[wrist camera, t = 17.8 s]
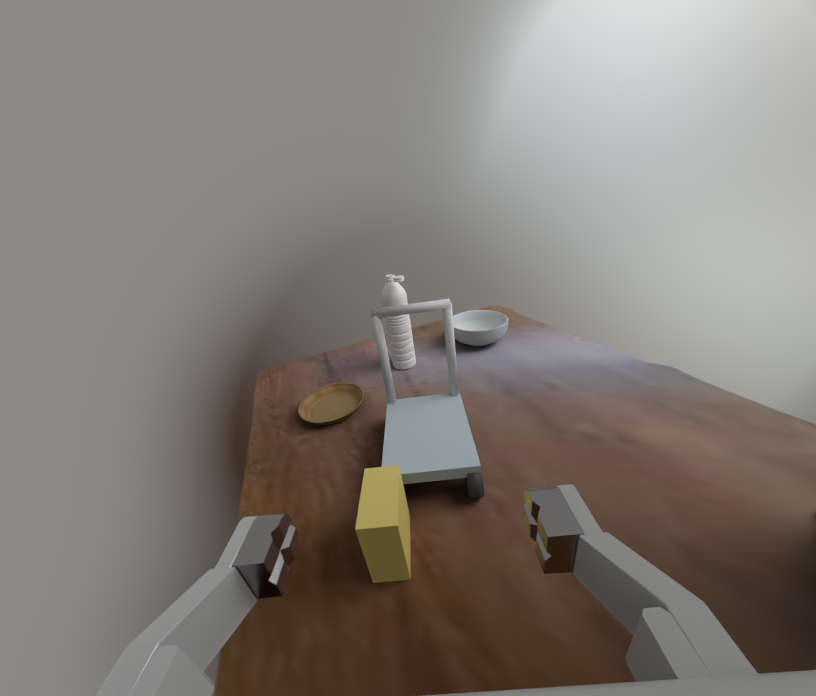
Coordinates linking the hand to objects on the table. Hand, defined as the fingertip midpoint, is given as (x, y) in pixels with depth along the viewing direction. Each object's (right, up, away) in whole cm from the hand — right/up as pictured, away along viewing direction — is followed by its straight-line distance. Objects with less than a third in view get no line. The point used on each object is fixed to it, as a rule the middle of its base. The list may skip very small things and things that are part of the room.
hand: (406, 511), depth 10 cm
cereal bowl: (+22, +8, +80) cm, 83 cm away
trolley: (+4, -13, +42) cm, 44 cm away
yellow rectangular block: (-2, -20, +29) cm, 35 cm away
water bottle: (0, +1, +72) cm, 72 cm away
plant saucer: (-17, -9, +58) cm, 61 cm away
